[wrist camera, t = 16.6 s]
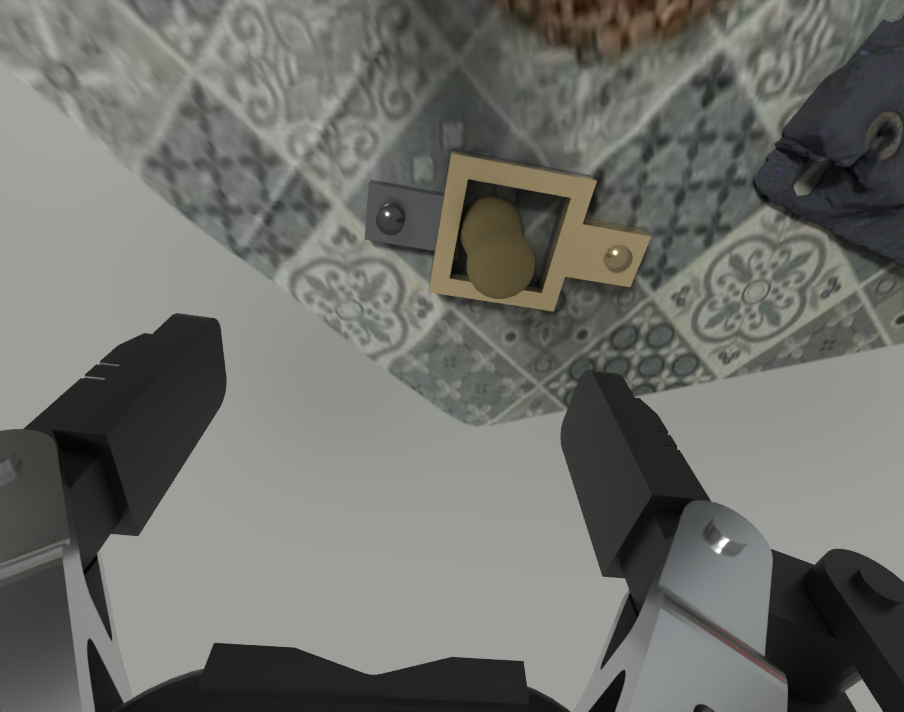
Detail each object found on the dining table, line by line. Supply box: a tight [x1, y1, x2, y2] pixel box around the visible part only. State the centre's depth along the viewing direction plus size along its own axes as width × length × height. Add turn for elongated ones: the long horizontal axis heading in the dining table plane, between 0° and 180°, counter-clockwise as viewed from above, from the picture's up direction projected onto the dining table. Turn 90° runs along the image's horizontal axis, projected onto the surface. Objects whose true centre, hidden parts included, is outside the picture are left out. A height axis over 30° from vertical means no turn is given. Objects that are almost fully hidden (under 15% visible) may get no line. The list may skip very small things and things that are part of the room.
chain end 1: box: [365, 149, 592, 288], centre depth 41 cm, size 12×19×3 cm, turn 80°
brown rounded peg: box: [458, 196, 535, 299], centre depth 38 cm, size 6×6×11 cm
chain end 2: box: [429, 151, 651, 311], centre depth 42 cm, size 12×19×3 cm, turn 80°
